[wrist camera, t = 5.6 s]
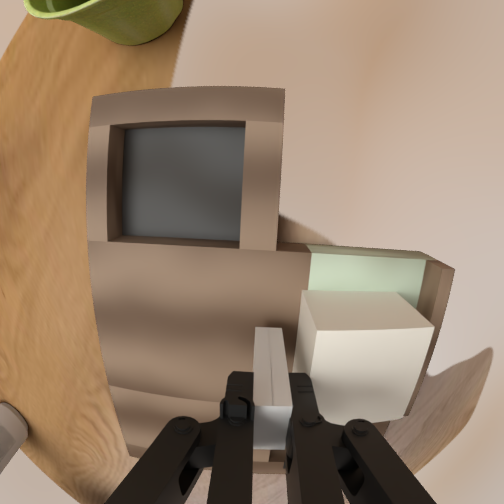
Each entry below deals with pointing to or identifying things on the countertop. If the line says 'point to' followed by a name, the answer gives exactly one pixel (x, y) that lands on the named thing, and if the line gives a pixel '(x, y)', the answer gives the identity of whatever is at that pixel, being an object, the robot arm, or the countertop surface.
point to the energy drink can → (10, 433)
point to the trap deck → (209, 253)
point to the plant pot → (113, 16)
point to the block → (360, 352)
